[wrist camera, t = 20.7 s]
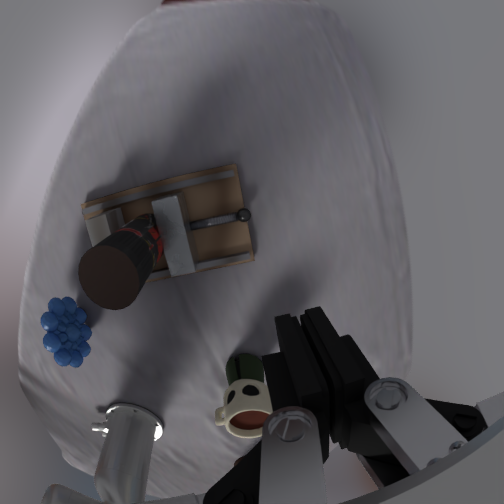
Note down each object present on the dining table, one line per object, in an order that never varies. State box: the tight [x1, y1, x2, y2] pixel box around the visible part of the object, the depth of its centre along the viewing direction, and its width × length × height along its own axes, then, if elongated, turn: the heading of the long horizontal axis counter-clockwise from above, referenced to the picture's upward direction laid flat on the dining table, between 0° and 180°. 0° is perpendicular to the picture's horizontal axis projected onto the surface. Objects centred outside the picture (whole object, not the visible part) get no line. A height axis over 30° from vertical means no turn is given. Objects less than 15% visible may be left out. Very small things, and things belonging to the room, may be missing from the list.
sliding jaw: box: [151, 191, 251, 277], centre depth 34 cm, size 11×9×5 cm
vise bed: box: [81, 164, 255, 283], centre depth 34 cm, size 22×13×6 cm, turn 100°
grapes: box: [41, 297, 92, 367], centre depth 34 cm, size 12×7×12 cm, turn 5°
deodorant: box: [78, 213, 164, 310], centre depth 29 cm, size 6×6×15 cm
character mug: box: [215, 354, 273, 438], centre depth 39 cm, size 11×7×13 cm, turn 114°
